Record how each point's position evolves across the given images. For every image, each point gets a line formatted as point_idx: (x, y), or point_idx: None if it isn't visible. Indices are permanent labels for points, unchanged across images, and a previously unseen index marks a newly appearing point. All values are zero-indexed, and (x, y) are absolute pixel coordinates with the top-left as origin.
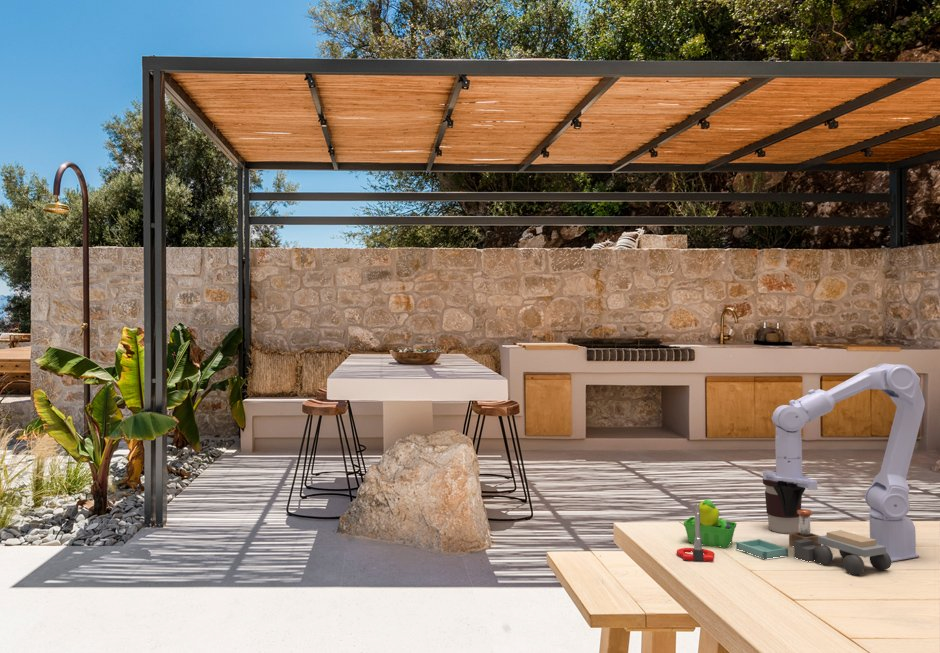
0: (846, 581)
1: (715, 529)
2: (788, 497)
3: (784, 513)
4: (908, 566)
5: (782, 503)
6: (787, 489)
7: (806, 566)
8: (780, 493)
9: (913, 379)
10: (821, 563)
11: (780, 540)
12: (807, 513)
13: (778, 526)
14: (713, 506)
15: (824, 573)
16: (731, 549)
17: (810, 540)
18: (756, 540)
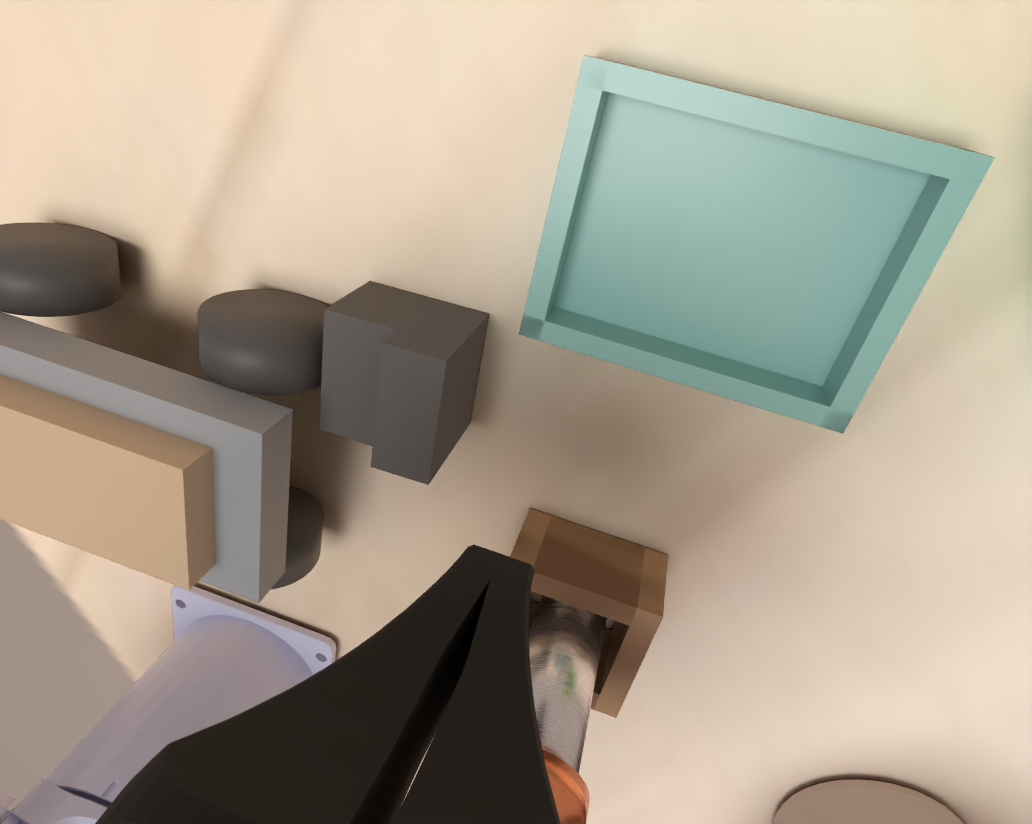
0: (6, 67)
1: None
2: (308, 684)
3: (520, 569)
4: (116, 566)
5: (502, 655)
6: (165, 778)
7: (320, 179)
8: (457, 776)
9: None
10: (292, 296)
11: (778, 637)
12: None
13: (877, 816)
14: None
15: (166, 119)
16: (1021, 128)
17: (383, 458)
18: (843, 381)
